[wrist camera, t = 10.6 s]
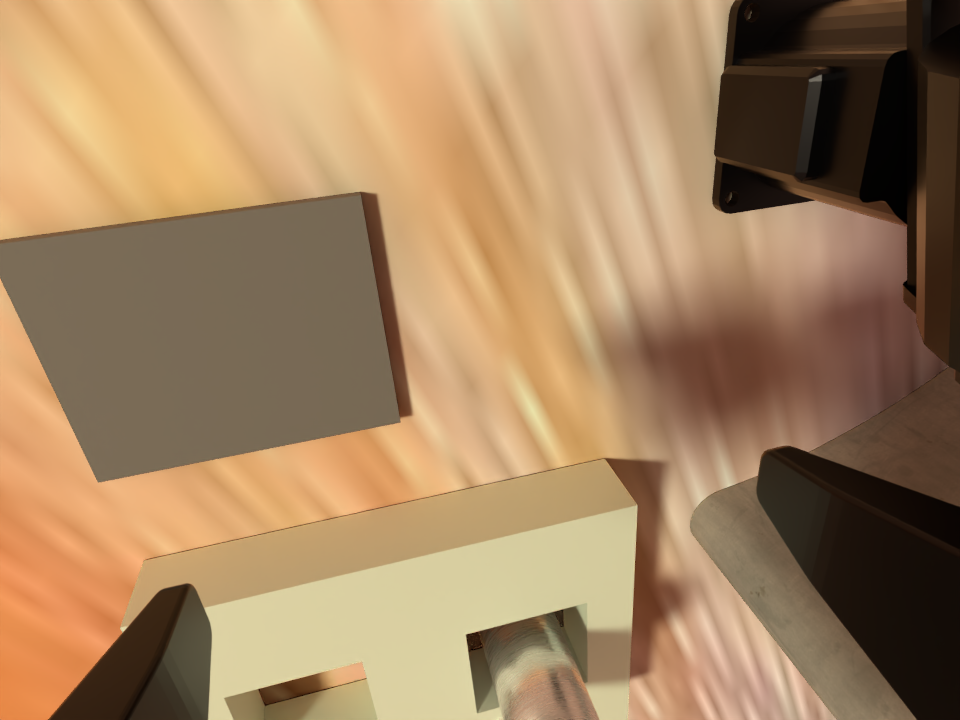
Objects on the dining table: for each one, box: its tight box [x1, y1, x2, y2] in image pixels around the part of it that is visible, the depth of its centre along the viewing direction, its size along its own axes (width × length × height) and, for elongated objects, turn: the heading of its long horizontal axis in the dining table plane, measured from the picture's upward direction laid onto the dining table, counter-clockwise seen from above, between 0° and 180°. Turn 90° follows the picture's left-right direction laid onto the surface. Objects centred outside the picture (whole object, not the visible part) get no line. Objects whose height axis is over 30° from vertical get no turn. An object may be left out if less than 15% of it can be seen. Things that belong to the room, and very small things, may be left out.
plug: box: [479, 612, 599, 720], centre depth 24 cm, size 3×3×8 cm
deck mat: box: [0, 192, 400, 482], centre depth 19 cm, size 10×8×1 cm
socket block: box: [120, 459, 638, 720], centre depth 25 cm, size 18×14×3 cm
